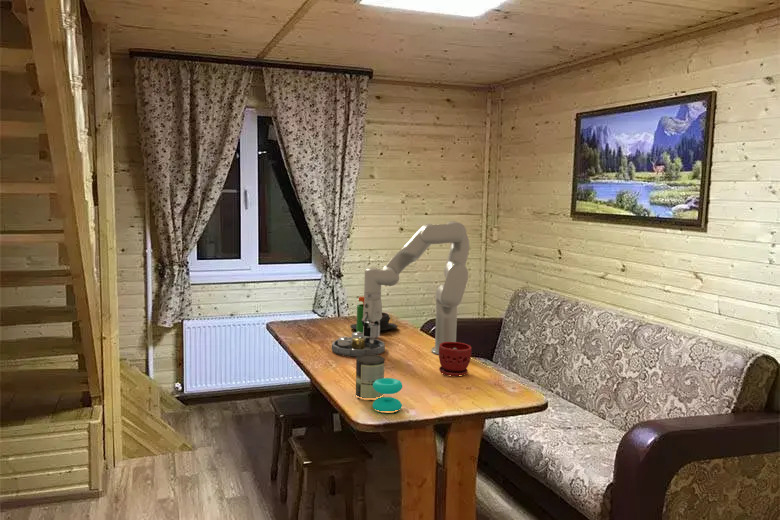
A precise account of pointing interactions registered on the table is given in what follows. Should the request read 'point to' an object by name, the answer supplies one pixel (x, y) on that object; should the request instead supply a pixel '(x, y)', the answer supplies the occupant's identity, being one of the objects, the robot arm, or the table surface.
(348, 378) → the table surface
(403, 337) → the table surface
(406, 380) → the table surface
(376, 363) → the coffee can
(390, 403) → the donuts
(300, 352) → the table surface
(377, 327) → the planet gear
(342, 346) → the carrier
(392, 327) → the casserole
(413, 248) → the robot arm
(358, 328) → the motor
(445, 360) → the plant pot
